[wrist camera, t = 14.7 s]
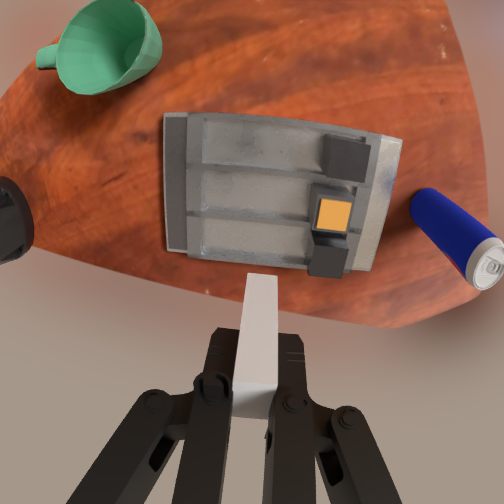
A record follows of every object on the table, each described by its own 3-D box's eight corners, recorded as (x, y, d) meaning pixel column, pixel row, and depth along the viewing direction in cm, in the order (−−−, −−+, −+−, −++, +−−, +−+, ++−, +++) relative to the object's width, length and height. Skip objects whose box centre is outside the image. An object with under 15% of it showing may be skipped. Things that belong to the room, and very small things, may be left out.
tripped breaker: (307, 214, 32) (312, 231, 28) (312, 182, 30) (318, 194, 26) (339, 218, 31) (348, 235, 28) (346, 187, 30) (356, 200, 26)
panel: (170, 245, 37) (156, 267, 32) (168, 112, 28) (148, 114, 23) (366, 265, 36) (378, 289, 31) (397, 137, 28) (418, 145, 23)
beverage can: (403, 220, 32) (462, 291, 19) (414, 182, 30) (485, 238, 17) (433, 226, 32) (494, 293, 19) (444, 191, 30) (517, 247, 17)
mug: (189, 15, 22) (156, -14, 14) (178, 93, 27) (139, 91, 18) (83, 29, 22) (32, 20, 13) (74, 98, 27) (21, 106, 18)
